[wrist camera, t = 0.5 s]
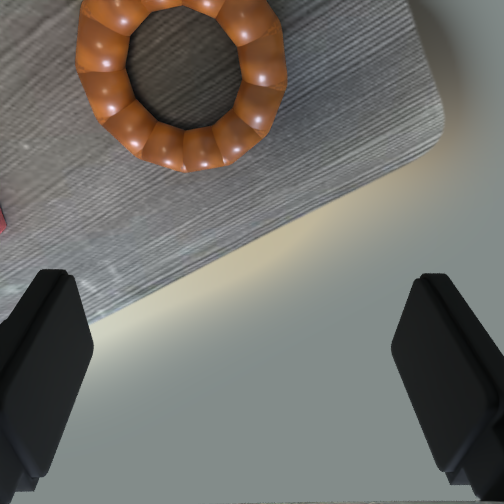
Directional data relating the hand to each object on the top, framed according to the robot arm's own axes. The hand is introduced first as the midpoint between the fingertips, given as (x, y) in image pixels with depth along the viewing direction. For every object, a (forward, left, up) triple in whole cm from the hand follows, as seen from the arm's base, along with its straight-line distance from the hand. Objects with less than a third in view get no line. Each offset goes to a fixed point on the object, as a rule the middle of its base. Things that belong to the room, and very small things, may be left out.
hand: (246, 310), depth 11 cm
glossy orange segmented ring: (-1, -4, -18) cm, 19 cm away
